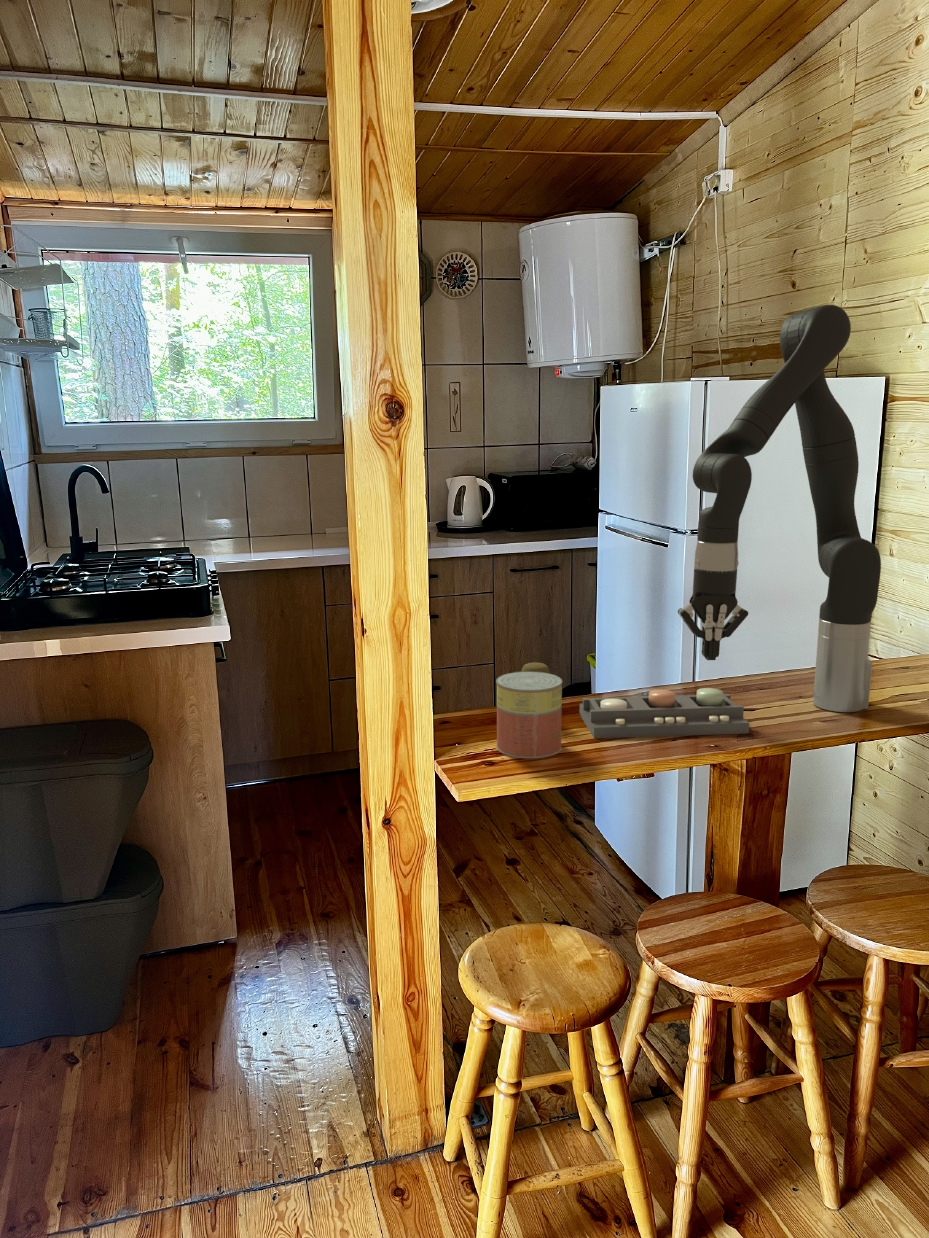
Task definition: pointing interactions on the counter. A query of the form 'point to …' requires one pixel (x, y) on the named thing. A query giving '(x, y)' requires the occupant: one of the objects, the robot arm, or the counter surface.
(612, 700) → the button one
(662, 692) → the button three
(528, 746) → the canned food
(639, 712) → the console
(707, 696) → the button two
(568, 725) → the counter surface
